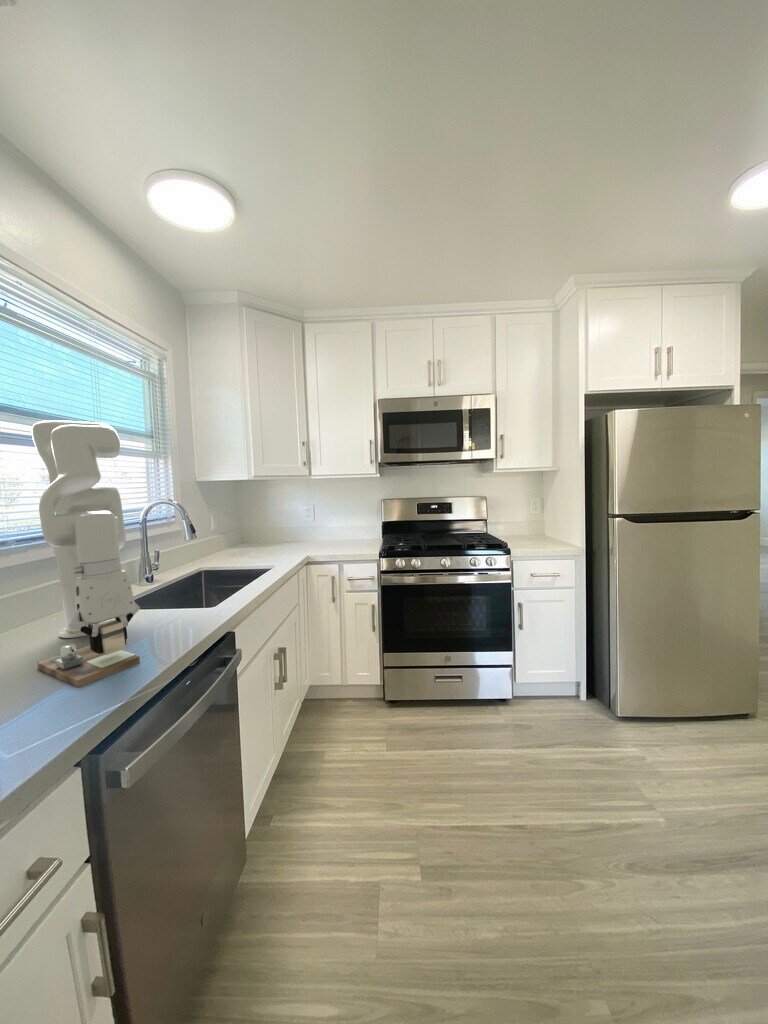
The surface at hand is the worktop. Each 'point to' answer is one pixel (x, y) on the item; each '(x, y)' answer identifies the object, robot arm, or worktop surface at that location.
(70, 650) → the silver slider knob
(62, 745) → the worktop surface
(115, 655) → the pad
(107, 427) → the robot arm
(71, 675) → the board
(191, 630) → the worktop surface
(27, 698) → the worktop surface
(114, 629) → the beige block
